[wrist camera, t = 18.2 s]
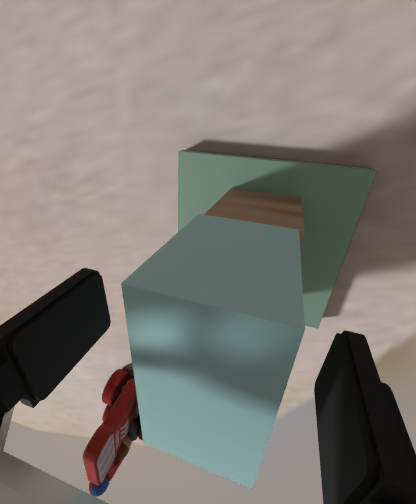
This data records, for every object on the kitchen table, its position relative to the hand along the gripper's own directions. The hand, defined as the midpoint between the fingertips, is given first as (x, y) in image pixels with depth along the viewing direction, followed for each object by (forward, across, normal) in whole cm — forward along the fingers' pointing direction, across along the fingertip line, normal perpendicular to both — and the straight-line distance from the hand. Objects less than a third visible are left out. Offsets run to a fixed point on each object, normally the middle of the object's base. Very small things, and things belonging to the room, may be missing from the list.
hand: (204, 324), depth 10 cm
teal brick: (+3, -1, +1) cm, 4 cm away
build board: (+11, -1, +1) cm, 11 cm away
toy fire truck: (+10, +11, +27) cm, 31 cm away
